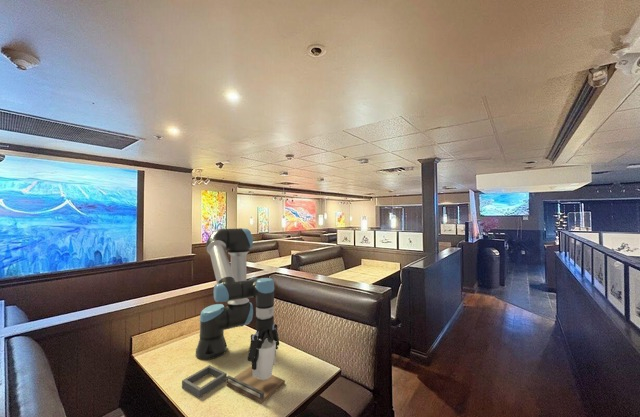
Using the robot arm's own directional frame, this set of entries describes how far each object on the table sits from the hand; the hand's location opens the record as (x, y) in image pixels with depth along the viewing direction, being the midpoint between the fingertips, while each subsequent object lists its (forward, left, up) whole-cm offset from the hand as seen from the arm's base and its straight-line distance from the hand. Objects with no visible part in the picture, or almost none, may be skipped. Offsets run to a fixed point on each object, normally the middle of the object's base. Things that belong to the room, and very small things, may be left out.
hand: (264, 370), depth 108 cm
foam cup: (0, 0, -2) cm, 2 cm away
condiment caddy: (-23, -11, -7) cm, 27 cm away
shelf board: (-4, 0, -7) cm, 8 cm away
